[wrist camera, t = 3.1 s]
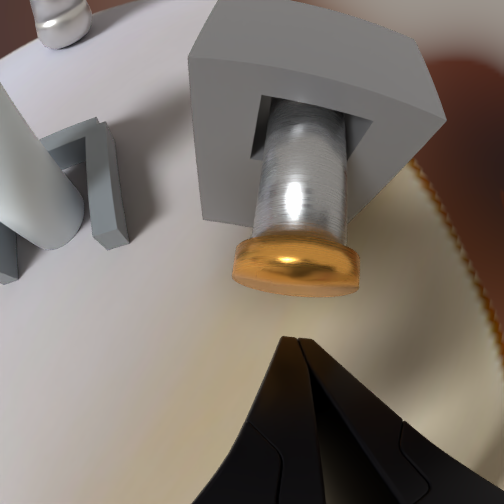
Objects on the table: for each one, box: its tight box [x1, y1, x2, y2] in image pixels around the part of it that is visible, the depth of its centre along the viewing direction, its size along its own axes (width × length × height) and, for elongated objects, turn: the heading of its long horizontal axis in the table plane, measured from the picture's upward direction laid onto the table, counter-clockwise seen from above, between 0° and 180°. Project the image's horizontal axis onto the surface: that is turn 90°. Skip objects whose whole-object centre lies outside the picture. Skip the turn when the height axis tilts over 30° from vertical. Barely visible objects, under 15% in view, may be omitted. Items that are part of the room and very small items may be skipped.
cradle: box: [0, 117, 129, 285], centre depth 16 cm, size 9×10×2 cm
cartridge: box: [0, 83, 84, 250], centre depth 12 cm, size 5×5×12 cm
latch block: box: [188, 0, 447, 227], centre depth 14 cm, size 5×8×12 cm, turn 82°
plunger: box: [232, 97, 360, 297], centre depth 10 cm, size 9×4×4 cm, turn 172°
